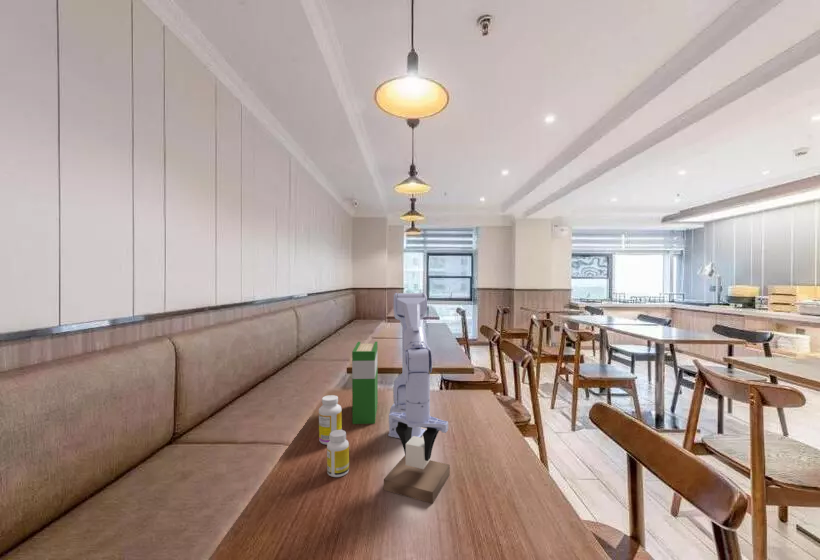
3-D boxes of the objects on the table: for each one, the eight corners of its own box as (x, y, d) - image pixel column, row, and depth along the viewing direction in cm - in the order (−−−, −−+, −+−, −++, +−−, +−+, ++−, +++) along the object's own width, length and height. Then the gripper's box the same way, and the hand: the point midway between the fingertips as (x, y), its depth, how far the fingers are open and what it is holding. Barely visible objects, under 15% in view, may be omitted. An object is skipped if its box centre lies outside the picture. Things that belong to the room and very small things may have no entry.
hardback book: (358, 404, 134) (357, 341, 134) (377, 404, 134) (377, 341, 134) (352, 424, 116) (352, 351, 116) (374, 423, 117) (374, 351, 116)
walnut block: (383, 489, 81) (383, 479, 81) (405, 464, 92) (405, 454, 92) (432, 503, 76) (432, 492, 76) (449, 474, 87) (449, 464, 87)
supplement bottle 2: (352, 468, 90) (352, 430, 90) (342, 479, 85) (342, 439, 85) (334, 464, 92) (334, 427, 91) (322, 475, 86) (322, 436, 86)
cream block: (405, 465, 83) (405, 443, 83) (413, 456, 87) (413, 435, 87) (423, 469, 81) (423, 447, 81) (430, 459, 85) (430, 439, 85)
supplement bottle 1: (338, 433, 109) (338, 392, 109) (344, 442, 103) (344, 399, 103) (316, 438, 106) (316, 395, 106) (321, 447, 100) (321, 403, 100)
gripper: (382, 400, 83) (382, 458, 83) (441, 410, 77) (441, 471, 77) (396, 391, 89) (396, 444, 89) (450, 399, 83) (451, 456, 83)
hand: (417, 456), depth 84 cm, fingers closed on cream block, 4 cm apart
